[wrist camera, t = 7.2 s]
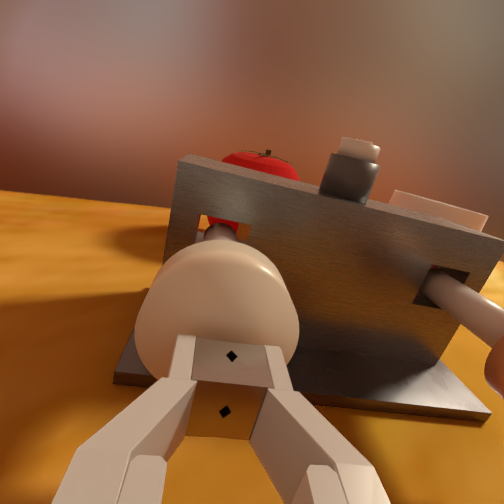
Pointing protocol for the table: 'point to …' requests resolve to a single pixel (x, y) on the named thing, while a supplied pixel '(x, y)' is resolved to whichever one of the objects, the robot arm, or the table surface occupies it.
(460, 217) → the cup
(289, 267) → the mount
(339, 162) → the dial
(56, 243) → the table surface
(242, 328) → the knob
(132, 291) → the table surface
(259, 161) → the tomato
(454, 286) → the knob
